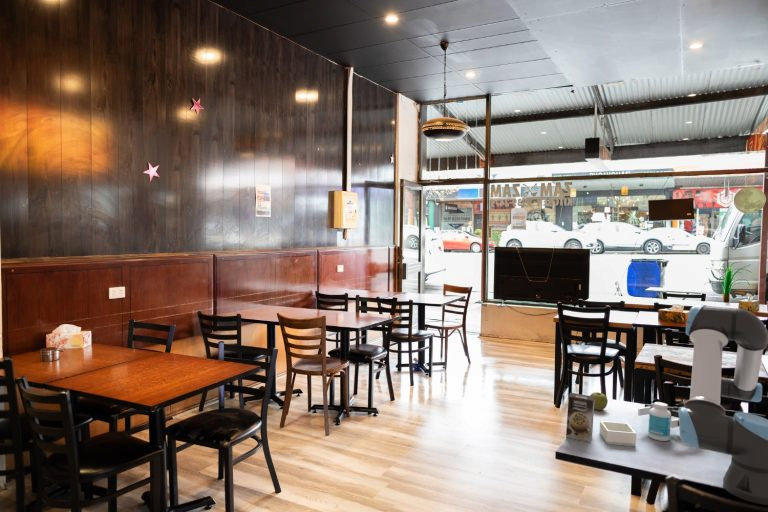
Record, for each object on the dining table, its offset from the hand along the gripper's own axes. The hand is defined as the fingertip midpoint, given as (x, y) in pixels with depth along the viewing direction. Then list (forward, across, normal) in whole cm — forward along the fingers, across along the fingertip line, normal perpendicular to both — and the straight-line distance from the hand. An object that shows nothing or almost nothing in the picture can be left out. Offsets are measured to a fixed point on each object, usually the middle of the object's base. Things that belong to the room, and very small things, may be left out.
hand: (654, 417), depth 198 cm
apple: (-7, +33, -9) cm, 35 cm away
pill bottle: (-3, 0, -9) cm, 9 cm away
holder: (+14, +5, -8) cm, 17 cm away
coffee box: (+26, +12, -9) cm, 30 cm away
